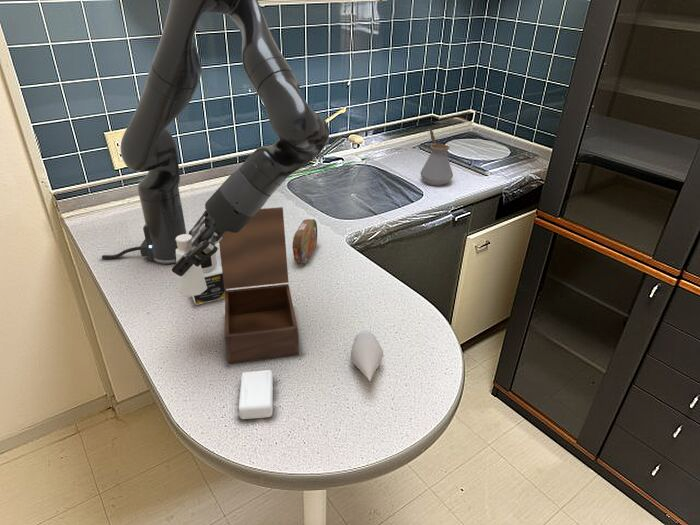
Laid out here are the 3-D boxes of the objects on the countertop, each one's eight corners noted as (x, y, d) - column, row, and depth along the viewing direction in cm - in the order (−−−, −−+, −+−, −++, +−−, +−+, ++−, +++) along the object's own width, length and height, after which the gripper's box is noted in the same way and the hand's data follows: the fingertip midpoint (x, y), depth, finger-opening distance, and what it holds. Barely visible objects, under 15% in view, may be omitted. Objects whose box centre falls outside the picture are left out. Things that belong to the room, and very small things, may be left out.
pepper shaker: (203, 297, 90) (194, 244, 84) (173, 296, 90) (162, 244, 84) (211, 281, 95) (203, 230, 89) (183, 280, 95) (173, 229, 89)
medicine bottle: (195, 306, 110) (187, 259, 104) (188, 289, 115) (180, 244, 109) (227, 298, 113) (221, 252, 106) (219, 282, 118) (212, 238, 112)
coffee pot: (455, 187, 172) (461, 145, 164) (423, 188, 171) (427, 145, 164) (441, 166, 190) (445, 127, 183) (411, 166, 190) (415, 127, 182)
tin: (303, 269, 124) (302, 240, 119) (291, 268, 124) (290, 238, 120) (318, 241, 136) (318, 214, 132) (307, 240, 137) (306, 213, 133)
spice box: (299, 354, 97) (297, 327, 93) (229, 364, 94) (225, 336, 90) (289, 309, 109) (288, 283, 106) (228, 316, 107) (224, 290, 103)
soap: (272, 418, 83) (271, 405, 81) (239, 421, 82) (237, 408, 81) (273, 380, 90) (272, 368, 89) (243, 382, 90) (241, 370, 88)
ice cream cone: (366, 401, 86) (362, 355, 100) (394, 383, 85) (386, 338, 99) (344, 379, 84) (343, 335, 98) (372, 359, 83) (367, 317, 97)
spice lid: (282, 207, 101) (282, 207, 102) (215, 212, 98) (215, 212, 99) (288, 282, 105) (288, 281, 106) (224, 289, 103) (224, 288, 103)
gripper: (221, 171, 89) (162, 236, 93) (221, 203, 78) (154, 276, 81) (253, 196, 93) (195, 258, 97) (258, 230, 81) (192, 299, 85)
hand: (177, 266), depth 89 cm, fingers closed on pepper shaker, 4 cm apart
